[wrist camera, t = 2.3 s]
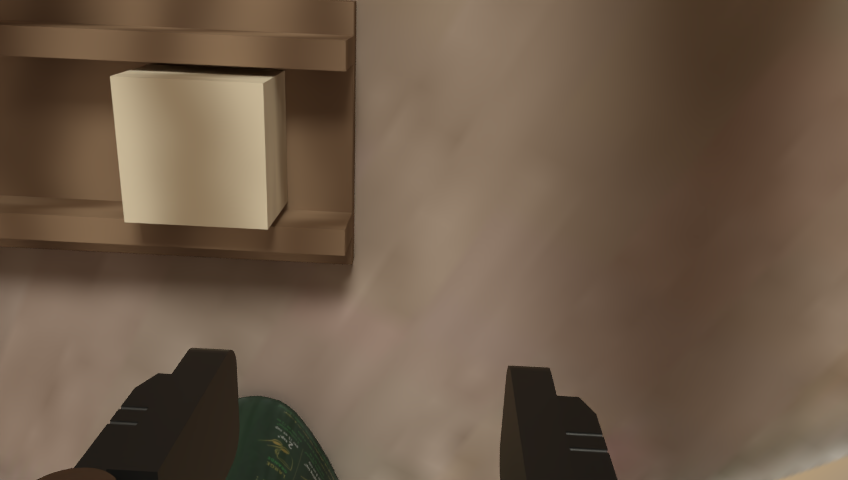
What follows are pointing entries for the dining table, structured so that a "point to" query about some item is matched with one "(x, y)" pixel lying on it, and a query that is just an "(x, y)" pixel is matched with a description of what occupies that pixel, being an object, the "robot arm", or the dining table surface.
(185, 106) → the birch block
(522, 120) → the dining table surface
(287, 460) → the coffee jar
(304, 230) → the chute
